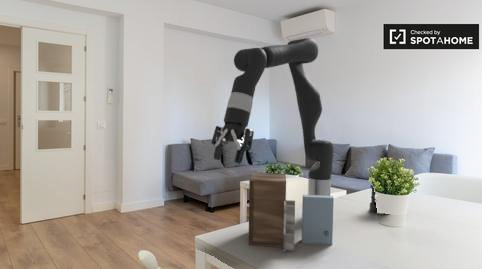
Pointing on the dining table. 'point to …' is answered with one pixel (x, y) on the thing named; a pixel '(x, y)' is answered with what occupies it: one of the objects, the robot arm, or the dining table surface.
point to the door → (317, 219)
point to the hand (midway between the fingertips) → (226, 161)
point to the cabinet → (270, 212)
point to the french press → (373, 202)
